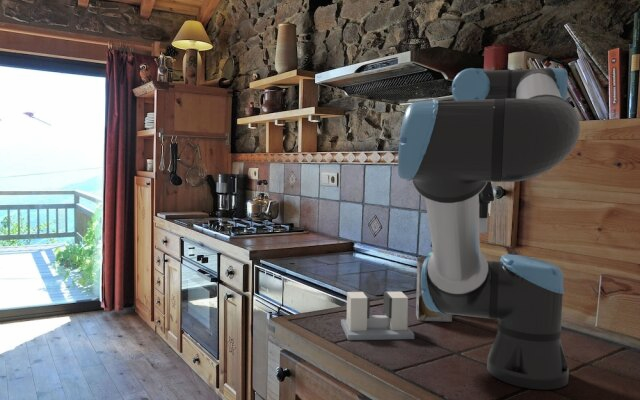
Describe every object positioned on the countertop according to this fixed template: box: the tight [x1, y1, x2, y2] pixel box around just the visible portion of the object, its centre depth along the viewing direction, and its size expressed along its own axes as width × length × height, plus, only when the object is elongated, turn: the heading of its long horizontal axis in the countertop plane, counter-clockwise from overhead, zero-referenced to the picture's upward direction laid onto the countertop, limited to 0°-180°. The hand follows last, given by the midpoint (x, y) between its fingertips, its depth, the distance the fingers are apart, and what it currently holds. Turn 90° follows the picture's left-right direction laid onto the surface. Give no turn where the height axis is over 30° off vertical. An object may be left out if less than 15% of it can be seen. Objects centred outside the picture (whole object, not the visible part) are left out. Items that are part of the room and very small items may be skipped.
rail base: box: [340, 291, 415, 341], centre depth 125 cm, size 12×16×9 cm
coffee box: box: [415, 257, 453, 323], centre depth 137 cm, size 9×6×16 cm
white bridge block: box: [382, 291, 409, 330], centre depth 126 cm, size 6×5×8 cm
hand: (468, 228), depth 119 cm, fingers open, 13 cm apart
